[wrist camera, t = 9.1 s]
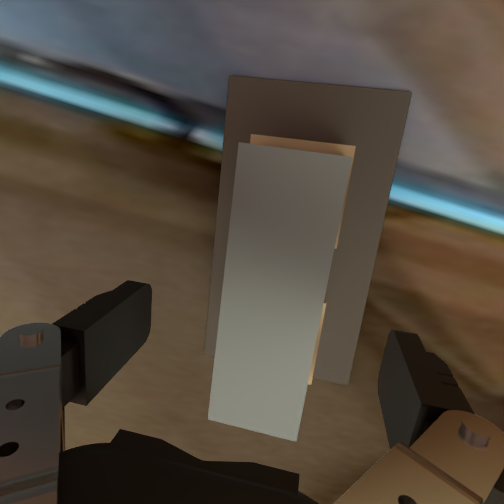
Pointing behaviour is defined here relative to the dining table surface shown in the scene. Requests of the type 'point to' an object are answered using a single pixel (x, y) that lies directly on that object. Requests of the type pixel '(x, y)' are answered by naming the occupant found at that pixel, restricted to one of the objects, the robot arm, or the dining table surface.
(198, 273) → the dining table surface
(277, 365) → the lintel
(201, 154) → the dining table surface
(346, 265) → the mat
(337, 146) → the pillar
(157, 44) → the dining table surface
